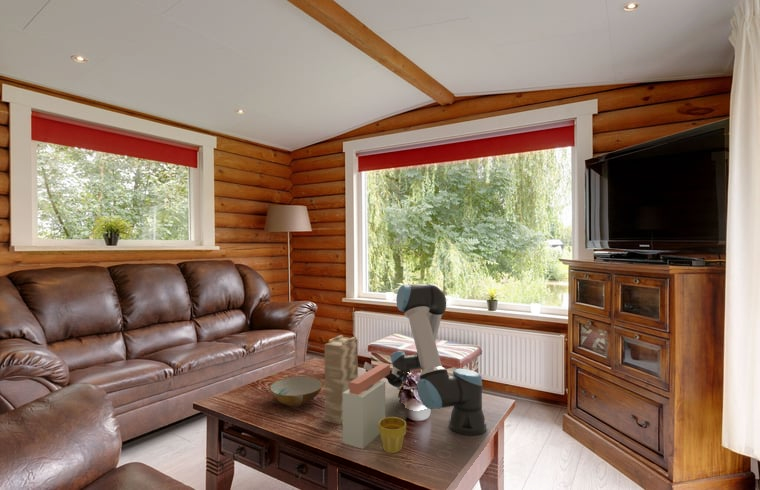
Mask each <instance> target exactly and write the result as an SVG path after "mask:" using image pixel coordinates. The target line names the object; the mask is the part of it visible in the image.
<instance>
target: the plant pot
mask: <svg viewBox="0 0 760 490" xmlns="http://www.w3.org/2000/svg"><path fill="white" fill-rule="evenodd" d="M406 433H407V422H406V421H405V420H404V418H403V419H402V418H401V417H396V416H387V417H385V418H383V419H382V420H380V421H379V435H380V438H381V443H382V447H383V450H384V451H385V453H389V454H397V453H399V452H400V451H401V450H402V447H403V441H404V437H405V435H406Z"/></svg>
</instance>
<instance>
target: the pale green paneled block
mask: <svg viewBox="0 0 760 490" xmlns="http://www.w3.org/2000/svg"><path fill="white" fill-rule="evenodd" d="M383 418H386V381H384V380H380V381H378V382H377V383H375V384H374V385H372V386H370V387H369V388H367V389H366V390H364V391H363V392H361V393H360V394H354V393H349V389H348V390H346V391H345V392H343V423H342V443H343V444H345V445H347V446H352V447H355V448H359V449H363V450H364V448H365V447H366V446H368V445H369V444H370V443H371V442H372V441H373V440H374V439H376V438H377V437H378V436H379V435H380V434H379V421H380V420H382V419H383Z"/></svg>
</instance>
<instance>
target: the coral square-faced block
mask: <svg viewBox="0 0 760 490" xmlns="http://www.w3.org/2000/svg"><path fill="white" fill-rule="evenodd" d="M373 367H374V368H373V369H371V370H369V371H368V372H366V371H365V372H364V373H363V374H361V375H358V377H357V378H356V379H354V380H352V381H351V382H349V393H354V394H360V393H361V392H363V391H364V390H366V389H367V388H369V387H370V386H372V385H374V384H375V383H377V382H378V381H382V380H383V379H385V378H384V377H386V376H387V375H389V374H390V371H391V364H388V363H380V364H378V365H376V366H373Z"/></svg>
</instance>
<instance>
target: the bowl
mask: <svg viewBox="0 0 760 490" xmlns="http://www.w3.org/2000/svg"><path fill="white" fill-rule="evenodd" d="M323 383H324V382H323V381H322V380H321V379H319V378H315V377H312V376H300V375H299V376H291V377H285V378H281V379H278V380H276V381H274V382H273V383H271V385H269V387H268V388H269V391H270V393H271V395H272V396H273V398H275V400H276V401H278V402H279V403H281V404H283V405H286V406H288V407H302V406H304V405H306V404H308V403H310V402H311V401H313V400H314V399H315V398H316V397H318V395H319V393H320V391H321V390H322V388H323V386H324V384H323Z"/></svg>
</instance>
